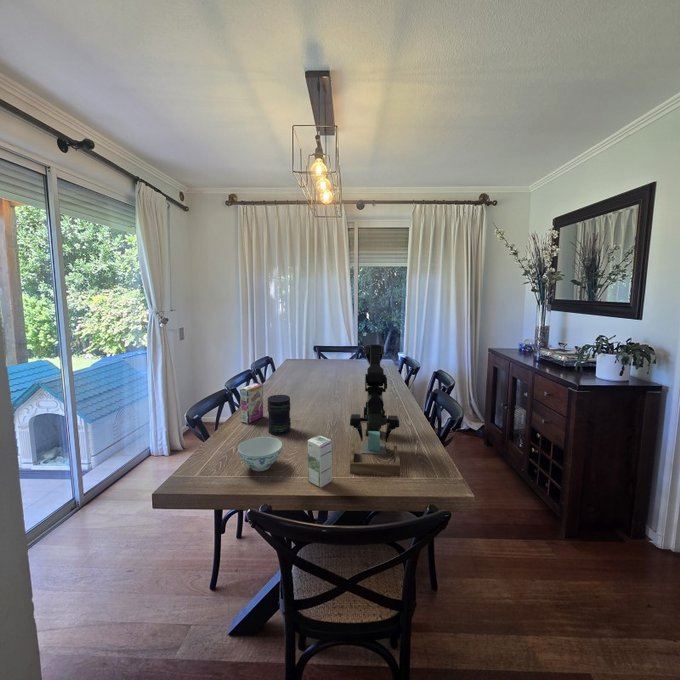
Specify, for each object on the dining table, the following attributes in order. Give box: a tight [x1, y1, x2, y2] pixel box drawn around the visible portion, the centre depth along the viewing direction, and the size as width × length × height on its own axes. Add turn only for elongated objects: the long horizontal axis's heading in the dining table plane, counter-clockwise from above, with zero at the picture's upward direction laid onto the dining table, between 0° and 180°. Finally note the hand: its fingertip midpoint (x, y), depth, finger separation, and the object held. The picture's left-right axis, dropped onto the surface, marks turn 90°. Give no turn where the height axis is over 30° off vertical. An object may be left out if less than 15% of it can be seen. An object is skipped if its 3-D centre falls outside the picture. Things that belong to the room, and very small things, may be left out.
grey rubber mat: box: [361, 442, 387, 456], centre depth 138 cm, size 9×9×1 cm
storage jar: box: [267, 394, 292, 436], centre depth 154 cm, size 10×10×15 cm
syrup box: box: [307, 434, 333, 489], centre depth 114 cm, size 6×6×14 cm
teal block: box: [367, 431, 381, 451], centre depth 138 cm, size 4×4×6 cm
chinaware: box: [237, 436, 283, 472], centre depth 124 cm, size 15×15×8 cm
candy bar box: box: [239, 382, 264, 425], centre depth 167 cm, size 11×5×16 cm, turn 154°
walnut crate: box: [349, 443, 401, 476], centre depth 127 cm, size 15×17×4 cm
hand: (373, 441), depth 138 cm, fingers open, 9 cm apart
